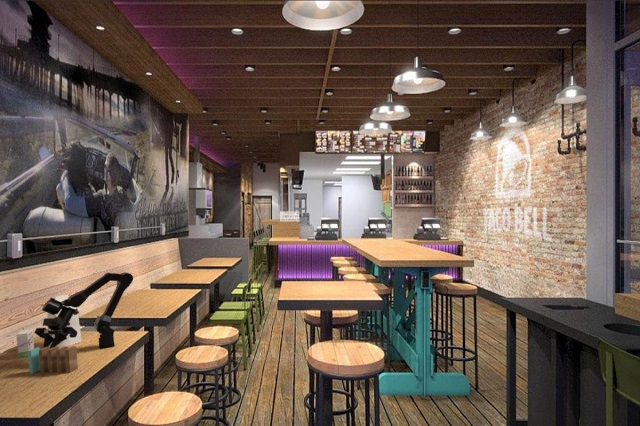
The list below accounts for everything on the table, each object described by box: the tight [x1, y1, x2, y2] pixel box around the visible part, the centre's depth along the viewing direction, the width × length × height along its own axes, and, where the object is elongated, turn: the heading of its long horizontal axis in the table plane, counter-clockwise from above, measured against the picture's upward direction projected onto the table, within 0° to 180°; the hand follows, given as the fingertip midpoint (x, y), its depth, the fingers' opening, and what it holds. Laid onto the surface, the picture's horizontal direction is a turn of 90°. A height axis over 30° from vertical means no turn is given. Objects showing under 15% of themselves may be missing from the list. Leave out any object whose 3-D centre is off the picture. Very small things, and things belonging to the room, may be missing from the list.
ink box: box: [15, 328, 35, 359], centre depth 209 cm, size 8×5×12 cm, turn 19°
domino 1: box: [27, 347, 41, 375], centre depth 183 cm, size 2×4×10 cm, turn 170°
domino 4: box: [56, 346, 69, 374], centre depth 182 cm, size 2×4×10 cm, turn 170°
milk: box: [47, 294, 83, 349], centre depth 223 cm, size 12×12×26 cm
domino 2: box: [39, 346, 50, 374], centre depth 183 cm, size 2×4×10 cm, turn 170°
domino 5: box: [65, 345, 79, 374], centre depth 181 cm, size 2×4×10 cm, turn 170°
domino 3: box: [47, 347, 60, 374], centre depth 183 cm, size 2×4×10 cm, turn 170°
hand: (47, 349), depth 190 cm, fingers open, 3 cm apart
